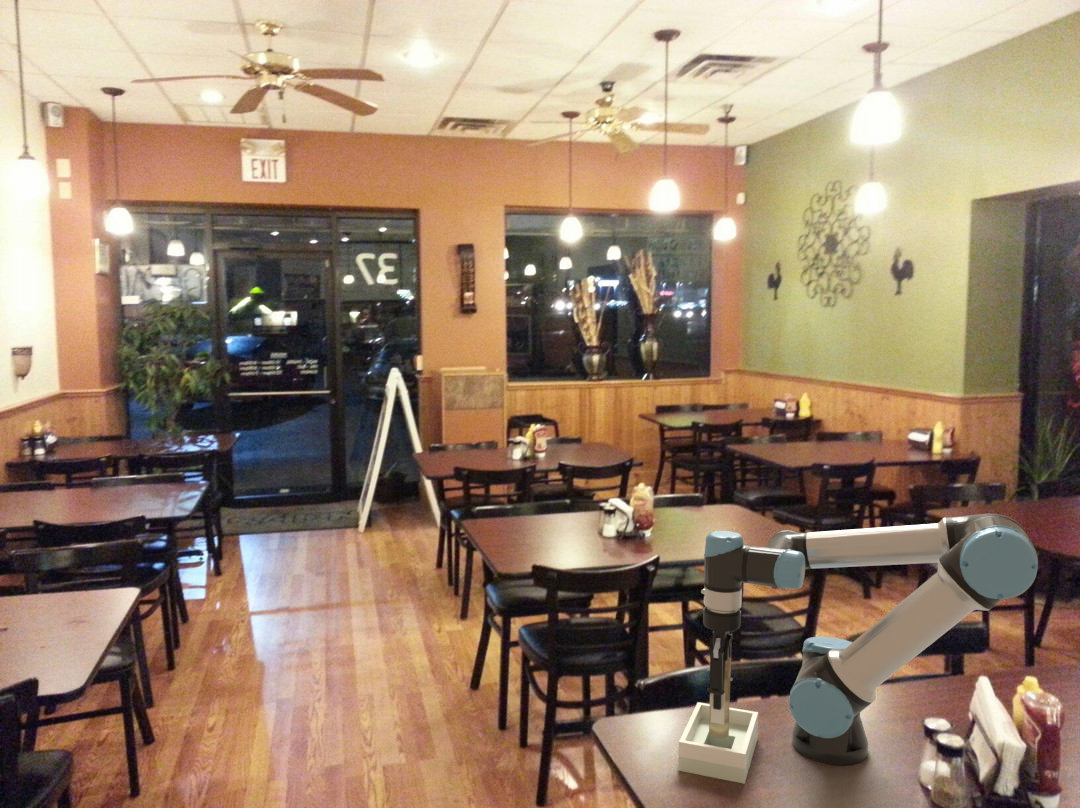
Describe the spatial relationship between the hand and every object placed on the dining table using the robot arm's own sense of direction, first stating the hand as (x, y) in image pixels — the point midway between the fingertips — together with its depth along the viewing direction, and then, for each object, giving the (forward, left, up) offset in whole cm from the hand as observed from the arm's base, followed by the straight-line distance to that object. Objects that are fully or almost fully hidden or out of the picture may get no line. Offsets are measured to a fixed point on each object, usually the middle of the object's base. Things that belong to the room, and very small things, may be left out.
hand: (719, 717), depth 171 cm
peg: (0, 0, -3) cm, 3 cm away
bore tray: (0, 0, -8) cm, 8 cm away
